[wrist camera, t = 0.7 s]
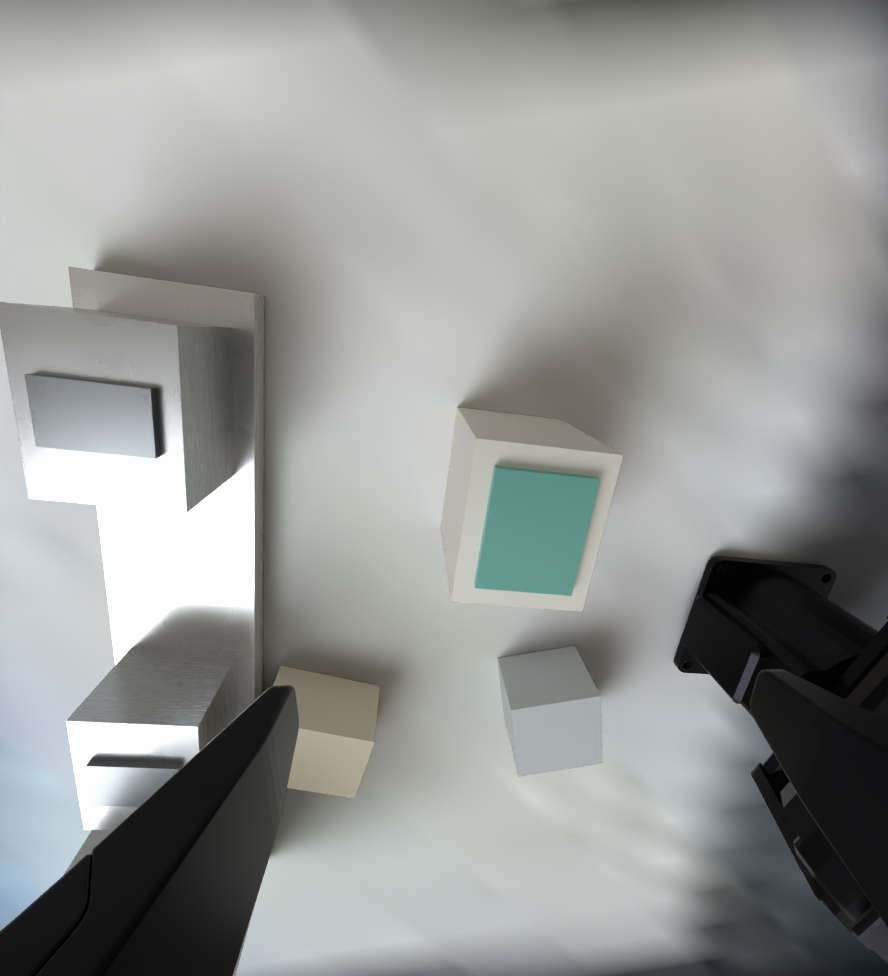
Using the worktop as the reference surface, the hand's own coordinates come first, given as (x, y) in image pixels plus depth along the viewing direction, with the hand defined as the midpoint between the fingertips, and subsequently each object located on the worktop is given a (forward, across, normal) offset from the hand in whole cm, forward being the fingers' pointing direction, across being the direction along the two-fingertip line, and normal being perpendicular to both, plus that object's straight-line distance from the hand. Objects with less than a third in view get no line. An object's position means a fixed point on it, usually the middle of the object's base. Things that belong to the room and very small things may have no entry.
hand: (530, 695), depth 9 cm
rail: (+12, +12, +2) cm, 17 cm away
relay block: (+12, -4, +11) cm, 17 cm away
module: (+12, -1, -1) cm, 12 cm away
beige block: (+12, +7, +11) cm, 18 cm away
